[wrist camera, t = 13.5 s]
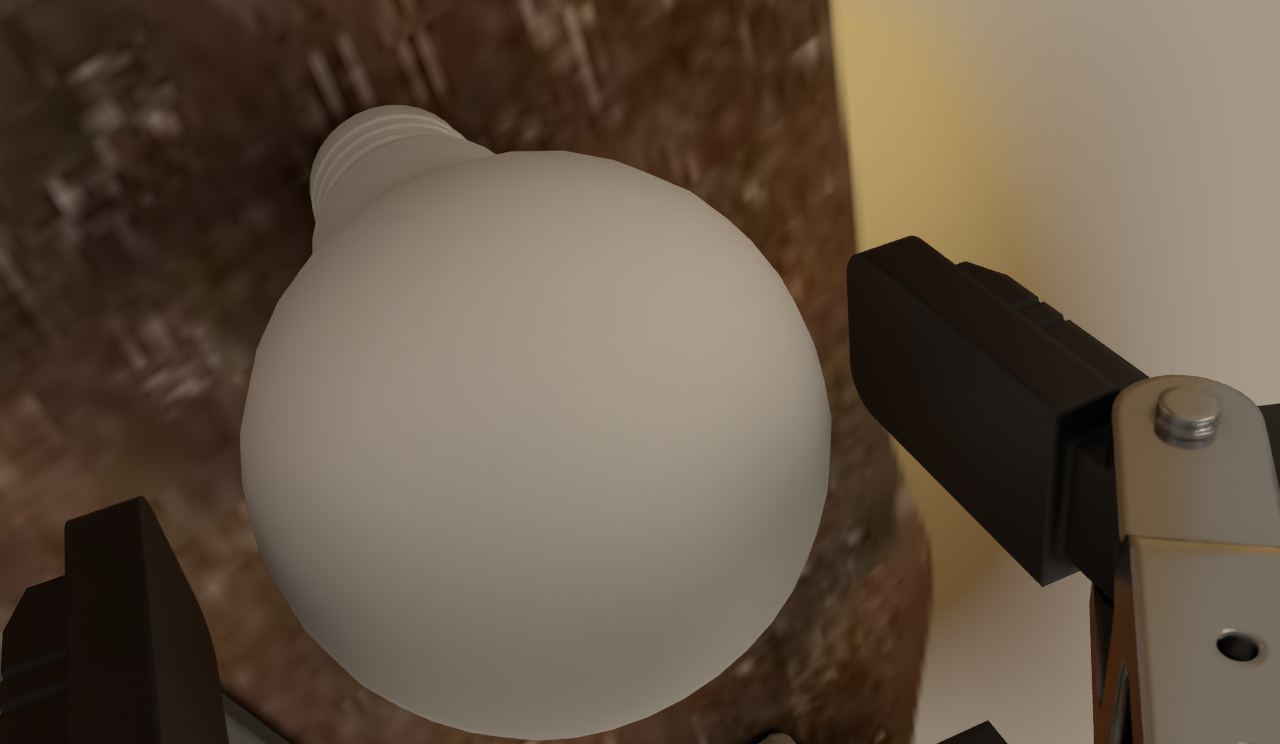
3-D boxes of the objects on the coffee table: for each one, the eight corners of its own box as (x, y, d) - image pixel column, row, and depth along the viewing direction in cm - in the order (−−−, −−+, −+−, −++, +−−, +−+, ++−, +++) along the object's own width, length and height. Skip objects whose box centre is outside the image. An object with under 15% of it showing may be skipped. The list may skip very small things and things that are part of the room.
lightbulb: (86, 85, 17) (129, 598, 8) (475, -108, 18) (880, 186, 9) (302, 395, 21) (482, 966, 12) (615, 226, 21) (994, 656, 13)
